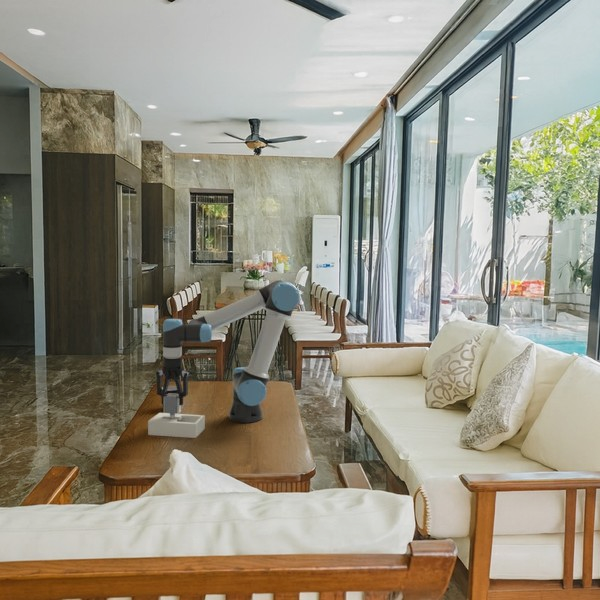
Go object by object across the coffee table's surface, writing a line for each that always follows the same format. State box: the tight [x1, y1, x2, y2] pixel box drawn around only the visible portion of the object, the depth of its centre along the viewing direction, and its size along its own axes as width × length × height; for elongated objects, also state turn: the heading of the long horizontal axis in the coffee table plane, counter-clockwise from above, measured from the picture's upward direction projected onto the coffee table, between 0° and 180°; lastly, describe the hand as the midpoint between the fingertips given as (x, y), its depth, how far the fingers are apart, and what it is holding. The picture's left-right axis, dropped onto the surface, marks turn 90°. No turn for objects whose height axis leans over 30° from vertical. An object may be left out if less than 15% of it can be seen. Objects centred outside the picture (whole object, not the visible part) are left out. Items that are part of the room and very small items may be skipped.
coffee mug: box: [162, 385, 178, 411], centre depth 264 cm, size 12×9×10 cm
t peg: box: [163, 393, 179, 422], centre depth 230 cm, size 7×7×14 cm
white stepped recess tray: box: [147, 412, 206, 439], centre depth 230 cm, size 20×12×6 cm, turn 82°
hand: (172, 412), depth 230 cm, fingers closed on t peg, 5 cm apart
